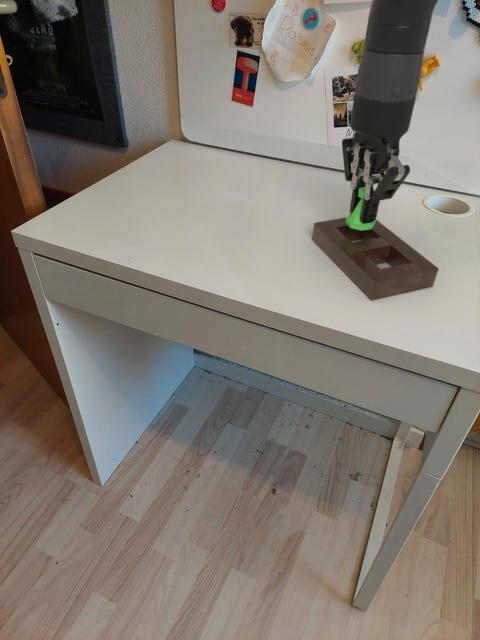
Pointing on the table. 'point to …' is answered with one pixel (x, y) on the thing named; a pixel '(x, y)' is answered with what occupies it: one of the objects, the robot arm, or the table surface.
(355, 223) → the game piece
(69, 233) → the table surface
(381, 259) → the socket pad
